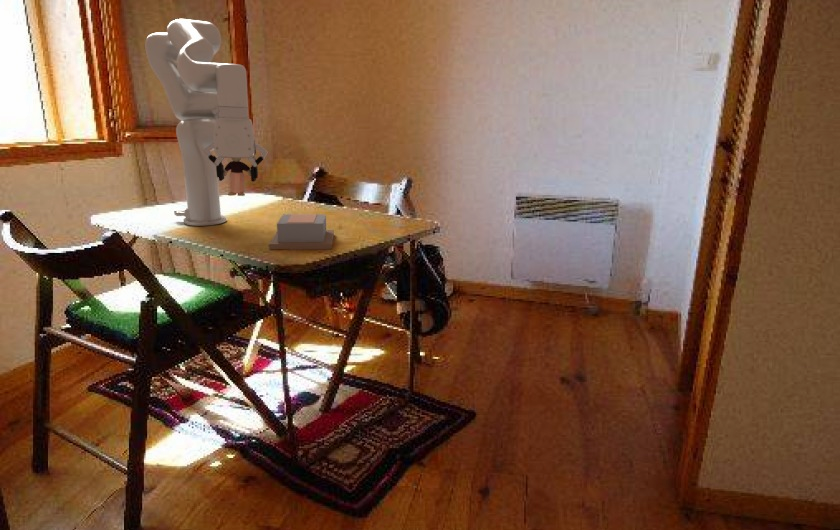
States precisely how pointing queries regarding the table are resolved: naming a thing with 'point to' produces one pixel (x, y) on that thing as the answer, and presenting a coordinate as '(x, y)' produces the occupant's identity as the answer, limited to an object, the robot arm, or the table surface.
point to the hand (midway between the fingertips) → (237, 180)
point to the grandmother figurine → (236, 176)
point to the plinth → (303, 244)
